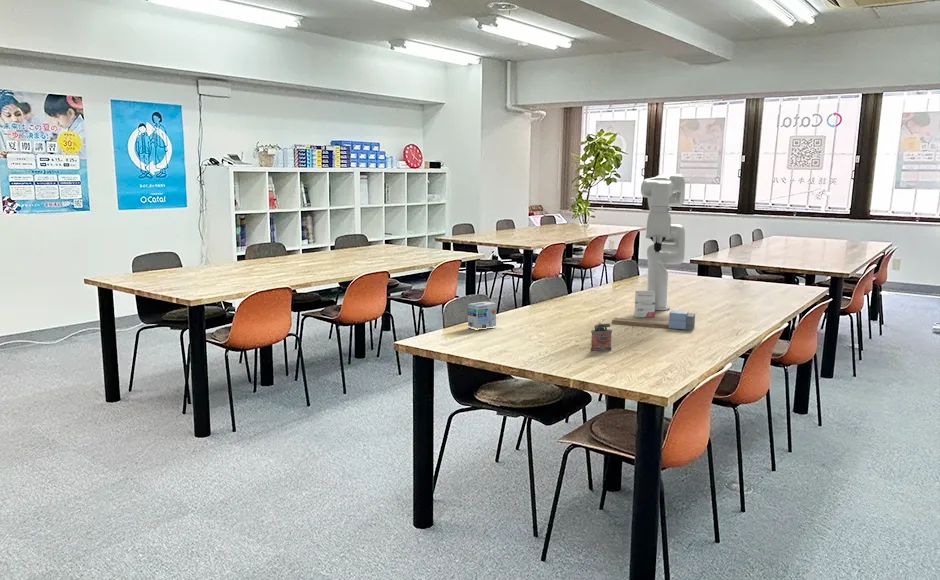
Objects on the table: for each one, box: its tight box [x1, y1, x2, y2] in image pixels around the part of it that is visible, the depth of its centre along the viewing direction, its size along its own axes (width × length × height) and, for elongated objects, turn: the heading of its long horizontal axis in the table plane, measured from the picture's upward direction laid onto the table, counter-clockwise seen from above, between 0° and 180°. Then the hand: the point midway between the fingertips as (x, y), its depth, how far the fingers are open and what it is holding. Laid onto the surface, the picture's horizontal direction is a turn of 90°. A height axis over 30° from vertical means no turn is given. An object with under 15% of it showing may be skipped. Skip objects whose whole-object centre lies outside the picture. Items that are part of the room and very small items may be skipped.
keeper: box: [668, 309, 690, 330], centre depth 300 cm, size 8×7×6 cm
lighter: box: [590, 323, 613, 352], centre depth 259 cm, size 8×3×10 cm, turn 106°
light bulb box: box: [467, 300, 497, 329], centre depth 297 cm, size 11×7×11 cm, turn 129°
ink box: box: [634, 289, 656, 318], centre depth 325 cm, size 9×5×12 cm, turn 84°
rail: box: [611, 312, 696, 332], centre depth 305 cm, size 8×34×6 cm, turn 67°
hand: (657, 251), depth 311 cm, fingers closed
